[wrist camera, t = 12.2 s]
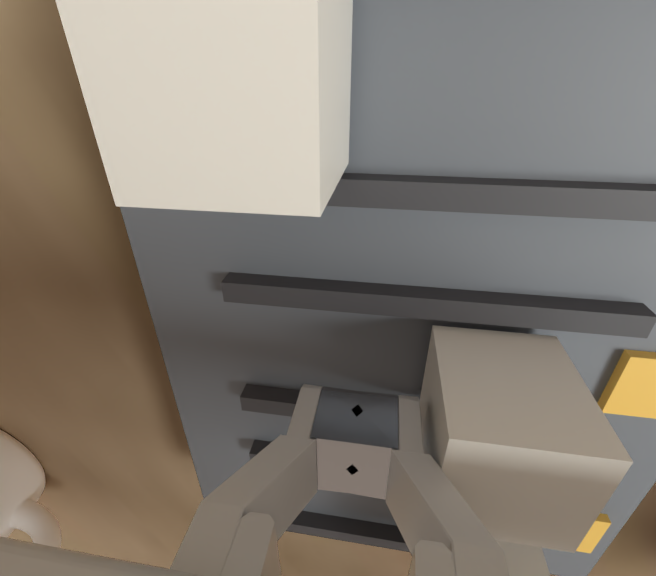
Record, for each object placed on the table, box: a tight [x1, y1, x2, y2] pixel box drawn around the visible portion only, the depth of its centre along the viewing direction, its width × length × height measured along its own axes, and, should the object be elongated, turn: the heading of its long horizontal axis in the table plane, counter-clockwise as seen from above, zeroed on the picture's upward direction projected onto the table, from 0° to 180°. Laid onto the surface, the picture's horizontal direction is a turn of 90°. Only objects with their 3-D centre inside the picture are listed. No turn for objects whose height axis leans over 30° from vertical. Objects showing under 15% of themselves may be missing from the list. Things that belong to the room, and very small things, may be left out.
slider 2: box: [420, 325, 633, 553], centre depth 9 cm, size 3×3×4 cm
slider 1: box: [55, 0, 353, 217], centre depth 6 cm, size 3×3×4 cm
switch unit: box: [120, 0, 656, 576], centre depth 12 cm, size 16×21×4 cm
